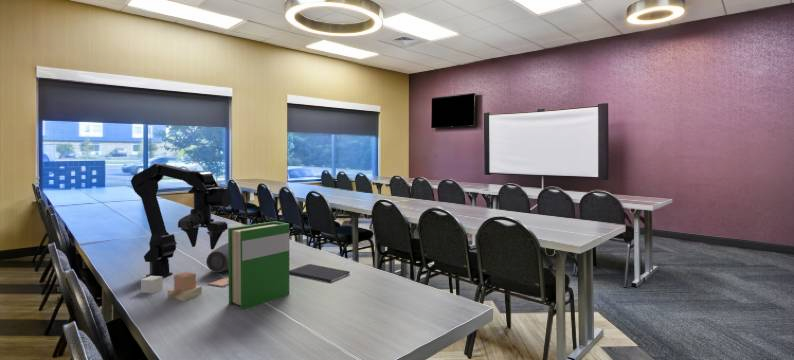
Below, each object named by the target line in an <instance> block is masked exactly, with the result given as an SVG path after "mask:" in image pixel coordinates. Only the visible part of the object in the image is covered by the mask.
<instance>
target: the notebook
mask: <svg viewBox="0 0 794 360" xmlns="http://www.w3.org/2000/svg"><path fill="white" fill-rule="evenodd" d="M350 273H351V272H350V271H349V270H343V269H338V268H334V267H333V268H332V267H327V266H323V265H317V264H313V263H312V264H311V263H308V264H304V265H302V266H299V267H296V268H293V269H291V270H290V269H289V275H292V276H297V277H303V278H306V277H307V279H312V280H316V281H320V280H321V281H322V282H325V281H326V282H327V283H333V282H335V281H337V279H338V280H339V279H343V278H344V276H345V277H347V275H348V276H349V275H350ZM342 277H343V278H342Z"/></svg>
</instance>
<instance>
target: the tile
mask: <svg viewBox="0 0 794 360" xmlns="http://www.w3.org/2000/svg"><path fill="white" fill-rule="evenodd" d="M207 285H208V286H212V287H218V288H225V287H227V286H229V279H226V278H221V279H218V280H216V281H212V282H210V283H207Z"/></svg>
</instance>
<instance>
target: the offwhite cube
mask: <svg viewBox="0 0 794 360" xmlns="http://www.w3.org/2000/svg"><path fill="white" fill-rule="evenodd" d="M163 278H164V277H163V276H149V277H147V276H145V278H141V279H140V285H141V286H140V289H141V290H140V291H141V294H142V293H143V294H155V293H157V292H160V291H162V290H164V289H163V287H164V283H163V282H164V281H163Z"/></svg>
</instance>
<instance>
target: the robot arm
mask: <svg viewBox="0 0 794 360" xmlns="http://www.w3.org/2000/svg"><path fill="white" fill-rule="evenodd" d="M164 177H166V178H167V177H168V178H172V179H176V180H180V181H182V182H184V183H186V184H187V185H189V186H191V187H192V188H191V189H189V190H188V191H187V193H188V194H193V208H191V209H190V211H189V212H190V213H189V214H187V215H185V216H183V217H181V218H180V219H179V220H178V222H177V228H179V229H180V230H181V231H182V232H185V233H186V235H187V237H188V239H189V240H188V241H189V242H190V245H191V247H192V248H194V247H196V246H197V240H198V234H199V229H200V228H206V229H207V232H206V234H207V235H208V236H209V246H210V250H213V251H214V250H215V248H216V245H217V243H218V242H219V239H221V236H222V234H223V232H226V231H227V230H228V228H229V227H228V226H229V225H228V223H227V222H226V221H223V220H222V221H220V220H219V221H215V219H214V218H212V212H214V208H213V207H215V208H216V207H218V208H228V207H229V206H230V205H231V203H232V200H233V199H232V195H231V193H230V192H229V188H228V187H223V188H221V187H220V186H219V184H218V183H217V181H216V179H215V178H214V175H213V173H212V172H211V171H208V170H189V169H186V168H181V167H177V166H172V165H170V164H166V163H163V162H162V163H154V164H152V165H151V166H149V167H147V168H145V169H144V170H142V171H139V172H138V173H135V174H134V175H133V176H132V178H130V179H131V180H130V184H131V186H132V188H133V191H134V193H136V194H137V196H138V197H139V198H140V199H141V202H142V205H143V209H144V212H145V216H146V220H147V223H148V227H149V230H150V234H151V237H150V240H149V250H148V251H147V252H146V253H145V254H144V255H143V259H144V261H145V262H147V263H149V274H146V275H145V277H149V276H163V278H164V277H168V276H171V275H173V272H170V260H169V259H170V258H173V257H174V253H175V252H176V250H177V245H178V243H177V241H176V239H175V238H176V237H175V235H174V233H172V234H170V233H169V232H168V231H167V229H166V225H165V222H164V218H163V215H162V214H163V213H162V211H161V207H160V204H159V200H158V197H157V195H158V190H159V182H160V181H162V180H163V178H164Z"/></svg>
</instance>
